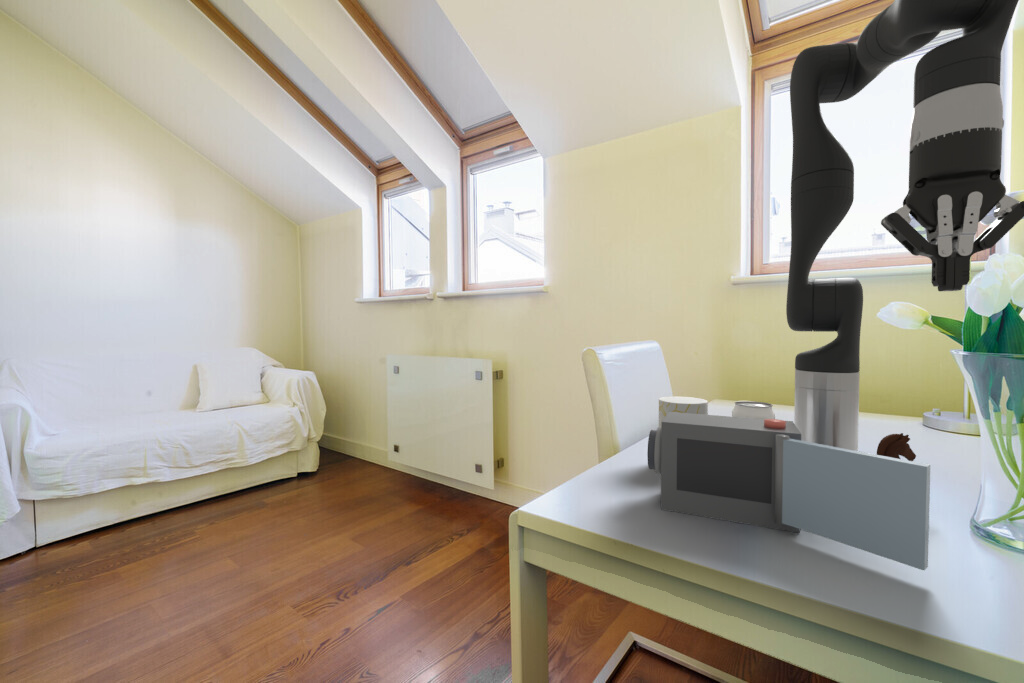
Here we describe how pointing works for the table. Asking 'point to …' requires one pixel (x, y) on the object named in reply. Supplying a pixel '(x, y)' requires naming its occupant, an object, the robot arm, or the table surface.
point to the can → (753, 410)
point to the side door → (854, 498)
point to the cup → (681, 406)
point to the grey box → (719, 466)
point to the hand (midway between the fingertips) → (949, 290)
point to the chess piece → (896, 447)
